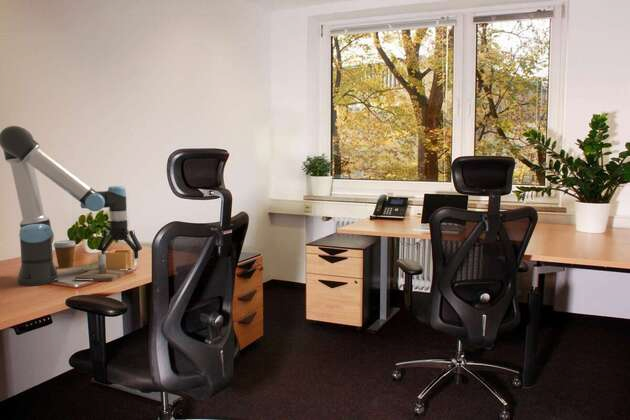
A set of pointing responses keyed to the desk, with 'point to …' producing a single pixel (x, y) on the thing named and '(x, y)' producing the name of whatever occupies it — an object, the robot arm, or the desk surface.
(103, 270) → the keeper
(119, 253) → the open cardboard box
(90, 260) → the desk surface
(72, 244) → the disposable coffee cup
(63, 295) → the desk surface
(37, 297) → the desk surface
